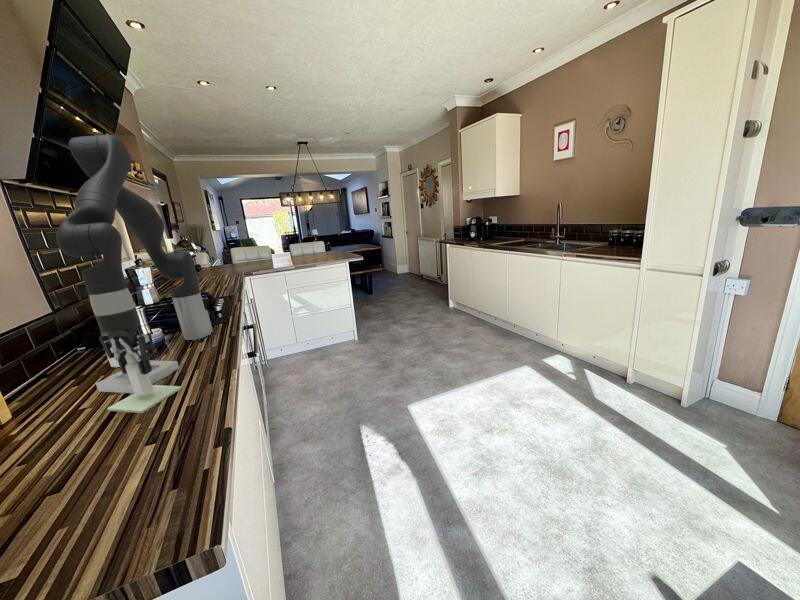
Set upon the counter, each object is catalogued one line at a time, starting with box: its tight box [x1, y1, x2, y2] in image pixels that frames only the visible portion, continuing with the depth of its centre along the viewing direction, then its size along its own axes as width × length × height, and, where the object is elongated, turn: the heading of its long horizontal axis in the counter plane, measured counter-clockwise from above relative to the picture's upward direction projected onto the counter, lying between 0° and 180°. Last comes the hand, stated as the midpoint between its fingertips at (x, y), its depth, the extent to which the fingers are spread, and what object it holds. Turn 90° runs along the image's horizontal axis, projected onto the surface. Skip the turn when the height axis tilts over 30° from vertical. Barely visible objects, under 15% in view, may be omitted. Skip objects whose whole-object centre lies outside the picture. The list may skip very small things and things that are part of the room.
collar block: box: [95, 359, 180, 394], centre depth 94 cm, size 14×14×2 cm
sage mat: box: [106, 384, 182, 414], centre depth 83 cm, size 11×11×1 cm
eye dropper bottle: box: [125, 351, 153, 395], centre depth 81 cm, size 4×6×12 cm
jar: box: [100, 331, 141, 368], centre depth 107 cm, size 9×8×12 cm
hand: (137, 372), depth 81 cm, fingers closed on eye dropper bottle, 5 cm apart
